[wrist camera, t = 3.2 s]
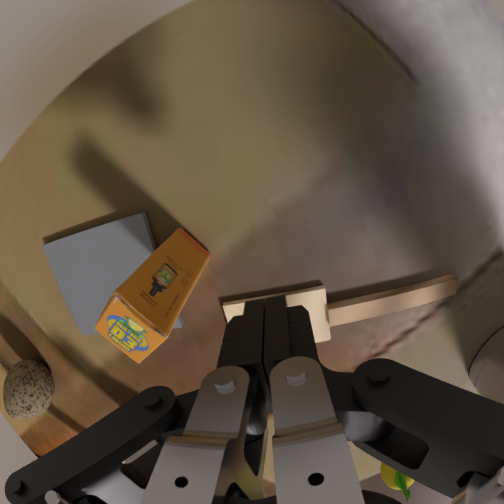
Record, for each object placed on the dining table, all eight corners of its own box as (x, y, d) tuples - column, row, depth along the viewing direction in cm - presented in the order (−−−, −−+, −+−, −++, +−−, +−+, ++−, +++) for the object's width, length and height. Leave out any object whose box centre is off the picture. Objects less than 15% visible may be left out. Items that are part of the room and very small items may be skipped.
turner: (453, 255, 20) (459, 260, 19) (449, 305, 21) (453, 310, 21) (223, 302, 23) (221, 308, 22) (238, 349, 24) (237, 356, 23)
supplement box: (155, 255, 22) (87, 326, 12) (180, 224, 21) (114, 286, 11) (186, 283, 22) (137, 368, 13) (214, 255, 21) (172, 336, 12)
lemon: (400, 457, 31) (413, 505, 22) (369, 461, 31) (378, 513, 22) (421, 434, 29) (439, 487, 20) (388, 439, 29) (403, 497, 20)
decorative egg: (68, 374, 29) (31, 426, 19) (60, 394, 31) (30, 439, 21) (28, 339, 27) (-13, 384, 18) (25, 363, 30) (-9, 404, 20)
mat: (145, 211, 20) (142, 213, 20) (184, 323, 24) (182, 327, 23) (46, 243, 22) (42, 245, 22) (84, 331, 25) (82, 335, 25)
